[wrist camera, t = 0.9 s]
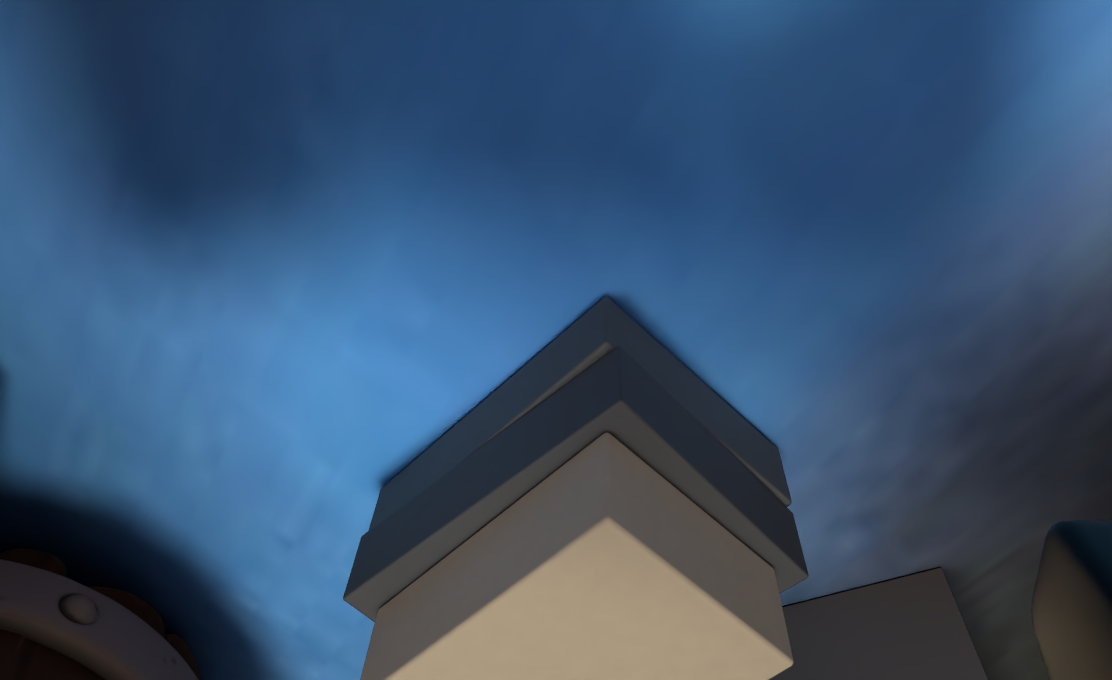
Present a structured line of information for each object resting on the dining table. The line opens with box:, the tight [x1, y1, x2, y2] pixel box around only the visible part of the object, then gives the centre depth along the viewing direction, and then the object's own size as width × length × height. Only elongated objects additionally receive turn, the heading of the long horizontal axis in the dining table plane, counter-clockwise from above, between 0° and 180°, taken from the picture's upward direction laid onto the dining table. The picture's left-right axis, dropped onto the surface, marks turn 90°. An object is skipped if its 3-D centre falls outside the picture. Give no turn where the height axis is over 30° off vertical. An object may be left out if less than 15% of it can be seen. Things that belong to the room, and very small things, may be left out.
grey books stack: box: [343, 297, 808, 622], centre depth 22 cm, size 8×6×4 cm
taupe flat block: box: [360, 433, 794, 680], centre depth 20 cm, size 7×5×2 cm
